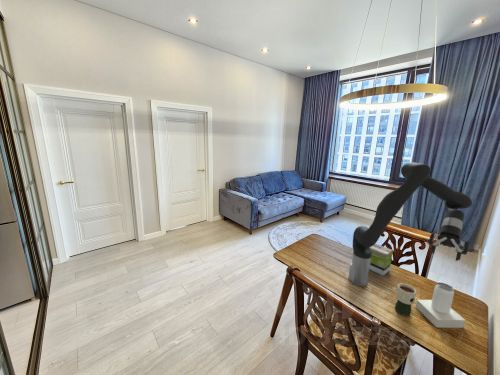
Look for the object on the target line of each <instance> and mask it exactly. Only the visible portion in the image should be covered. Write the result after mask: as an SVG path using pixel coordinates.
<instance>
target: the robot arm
mask: <svg viewBox="0 0 500 375" xmlns="http://www.w3.org/2000/svg"><path fill="white" fill-rule="evenodd" d="M400 174H401V176H402V177H403V178H404V179H405V180H404V182H402V183H401V185H400V186H398V187H397V188H396V189H393V191H390V192H389V193H387V194H386V195H385V196H383V198H382V200H381V201H380V202H379V204H378V205H377V208H376V210H375V214H374V215H375V216H374V220H373V221H372V223H371V225H370V226H369V227H367V226H364V225H360V226H358V227H356V228H355V229H354V231H353V233H352V236H353V237H352V249H353V252H352V258H351V259H352V261H351V263H350V264H349V270H348V280H349V281H350V282H351V283H352V285H354V286H359V287H366V286H368V282H369V276H370V271H371V270H370V263H371V256H372V252H371V250H370V247H371V246H373V245H374V244H377V242H378V241H379V239H380V238H381V236H382V234H383V233H384V232H385V229H386V228H387V227H388V225H389V224H390V223H391V221H392V220H393V218H394V217H395V216H396V215H397V214H398V213H399V211H401V209H402V208H403V206H404V205H405V204H406V202H407V201H408V200H409V198H411V196H412V195H414V193H415V192H416V190H418V188H420V187H423V189H426V190H427V191H429V193H431V194H432V195H434V196H435V197H437V198H438V199H440V200H441V201H444V210H445V215H444V218H443V221H442V224H441V227H440V232H439V234H438V235H437V234H435V233H433V232H432V233H431V234H430V237H429V239H428V241H427V244H428V246H431V248H430V252H431V253H432V255H434V254H435V253H436V252H435V251H436V248H437V247H439V246H441V245H442V246H445V247H448V248H452V249H454V250H455V252H456V256H455V261H456V262H458V261H460V260H461V258H462V255H463V256H464V255H465V256H466V255H467V254H468V250H469V241H462V240H461V235H462V230H463V222H464V218H465V213H464V212H463V211H462V209H469V208H470V207H471V206H472V205H473V201H472V199H471V197H469V196H468V195H467V194H465V193H462V192H459V191H458V190H454V189H452V188H451V187H449V186H448V185H447V184H445V183H443V182H441V181H439V180H437V179H435V178H433V177H431V176H430V174H431V167H430V166H429V165H428V164H426V163H420V162H405V163H404V164H403V165H402V167H401V169H400ZM436 239H437V241H435V242H433V241H434V240H436ZM459 245H461V246H462V247H463V250H461V248H460V247H459Z"/></svg>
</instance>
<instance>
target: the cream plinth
mask: <svg viewBox="0 0 500 375" xmlns="http://www.w3.org/2000/svg"><path fill="white" fill-rule="evenodd" d="M431 303H432V299H416V302H415V308H416V309H417V310H418V311H419V312H420V313H421V314H423V316H424V317H425V318H426V319H427V320H428V321H429V322H430V323H431V324H432V325H433V326H434V327H435V328H449V329H453V328H454V329H460V328H461V329H463V328H464V327H465V324H466V319H465V318H464V317H462V315H460V314H459V313H457V311H455V310H454V309H453V308H452V307H451V308H450V312H449V313H448V314H442V313H439V312H437V311H436V310H434V309H433V308H432V306H431Z"/></svg>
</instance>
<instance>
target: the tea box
mask: <svg viewBox="0 0 500 375" xmlns="http://www.w3.org/2000/svg"><path fill="white" fill-rule="evenodd" d="M370 250H371V252H372V256H371V263H370V270H369V271H372V272H374V273H377V274H379V275H381V276H382V277H383V276H385V275H386V274H387V273H388V272H389V271H390V269H391V264H392V258H393V253H394V250H393V249H390V248H388V247H385V246H383V245H380V244H377V243H375V244H374V245H373V246H371V247H370Z"/></svg>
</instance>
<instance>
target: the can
mask: <svg viewBox="0 0 500 375" xmlns="http://www.w3.org/2000/svg"><path fill="white" fill-rule="evenodd" d="M454 290H455V289H454V287H453V286H451V285H449V284H448V283H444V282H437V283H436V285H435V287H434V289H433V293H432V298H431V300H432V303H431V306H432V308H433V309H434V310H436V311H437V312H439V313H442V314H448V313H449V312H450V308H452V303H453V300H454V296H455V291H454Z"/></svg>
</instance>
